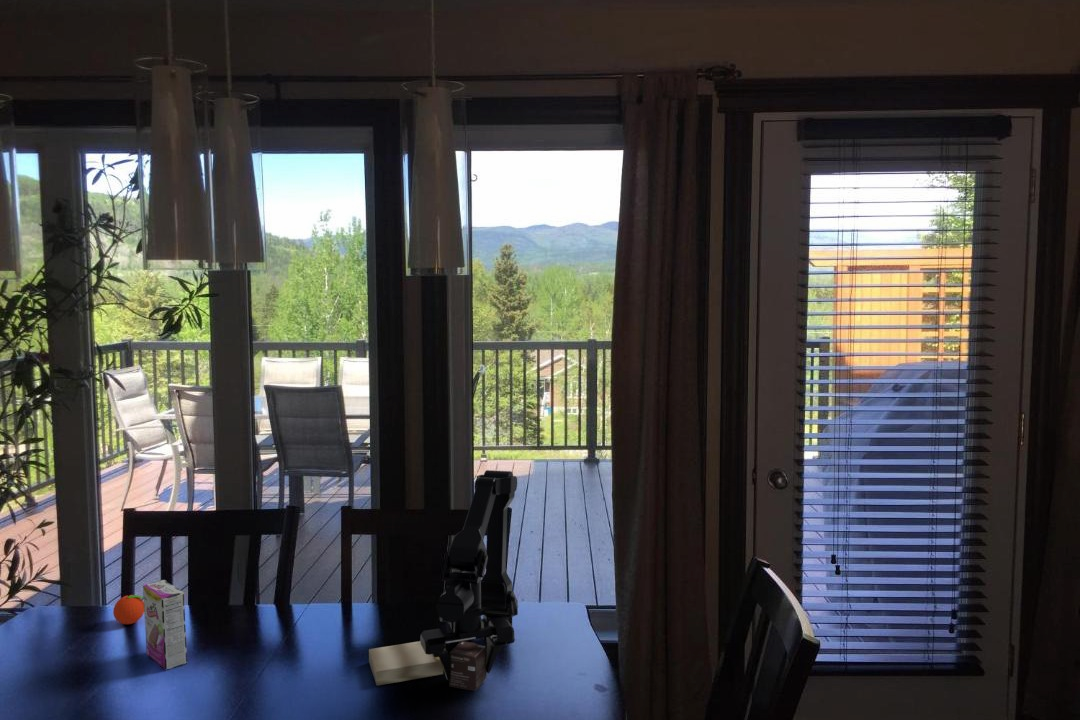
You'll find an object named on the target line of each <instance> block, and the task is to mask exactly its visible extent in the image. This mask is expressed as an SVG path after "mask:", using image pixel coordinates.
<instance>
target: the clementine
mask: <svg viewBox="0 0 1080 720" xmlns="http://www.w3.org/2000/svg"><path fill="white" fill-rule="evenodd" d="M112 612H113V617H114V619H115V621H117V622H118V623H119V624H123V625H132V624H135V623H137V622H138V621H139V620H141V618H142V617H143V616H144V615H145V614H144V597H143V596H142V595H137V594H128V595H124V596H123V597H121V598H119V599H118V601H116V603H115V604H114V606H113V611H112Z"/></svg>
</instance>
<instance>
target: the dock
mask: <svg viewBox="0 0 1080 720" xmlns="http://www.w3.org/2000/svg"><path fill="white" fill-rule="evenodd" d="M368 663H369V666H370V669H371V672H372V673H371V674H372V676H373V678H374V682H375V685H376V686H382V685H388V684H393V683H395V684H396V683H400V682H406V681H412V680H417V679H423V678H428V677H429V678H430V677H434V676H440V675H444V669H443V666H442V663H441V661H440V658H439V657H434V656H433V654H430V655H429V654H426V653H425V651H424V649H423V647H422V645H421V640H419V641H413V642H406V643H401V644H395V645H389V646H388V645H387V646H381V647H375V648H369V649H368Z"/></svg>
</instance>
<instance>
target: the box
mask: <svg viewBox="0 0 1080 720" xmlns="http://www.w3.org/2000/svg"><path fill="white" fill-rule="evenodd" d="M448 654H449V667H450V680H448V681H449V685H448V686H449V687H451V688H456V689H462V690H464V691H465V690H467V691H471V692H476V691H477V690H478V689H479V687H480V686H481V685H482V684H483V683H484V682H485V681H486V679H487V674H488V673H487V668H486V667H487V644H486V645H485V644H478V643H476V642H469V641H460V642H458V644H457V645H455V647H453V648H452V650H451V651H449V652H448Z"/></svg>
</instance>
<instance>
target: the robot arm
mask: <svg viewBox="0 0 1080 720" xmlns="http://www.w3.org/2000/svg"><path fill="white" fill-rule="evenodd" d="M517 487H518V478H517V476H516V475H514V474H513V472H512V471H510V470H493V469H492V470H491V469H490V470H489V469H486V470H485V471H484V473H483V474H479V475H476V479H475V481H474V493H473V496H472V499H471V502H470V504H469V505H470V506H469V509H468V512H467V516H466V518H465V522H464V525H463V528H462V530H460V531H459V532H458V533H456V534H455V535H454V537H453V539H452V541H451V543H450V546H449V547H448V548H447V551H446V555H445V560H444V563H443V569H442V570H443V571H442V575H441V582H442V581H443V582H448V585H447V586H446V587H445V590H444V593H442V594H441V595H440V596H439V597H438V599H437V602H436V605H435V608H436V612H437V614H438V617H439V621H440V622H441V623H445V622H447V623H448V626H449V627H450V629H451V630H453V632H448V633H442V631H441V629H440V628H434V629H433V628H432V629H428V630H423V631H422V632H421V634H420V638H419V639H420V640H419V641H421V645H422V647H423V649H424V651H425V653H426V654H429V655H430V654H433V656H434V657H439V658H440V661H441V663H442V666H443V673H444V674H445V678H446V680H447V681H449V680H450V667H449V652H448V650H447V648H446V644H447V645H448V644H453V643H460V642H461V641H464V642H467V641H471V640H478V639H483V640H484V641H485V643H486V646H487V667H486V668H487V674H490V672H491V670H492V668H493V666H494V663H495V661H496V659H497V657H498V655H499V653H500V652H501V650H502V648H503V647H504V646H507V645H508V644H507V643H513V642H515V641H516V639H515V630H514V629H515V628H514V627H513V618H514V617H515V616H518V615H519V613H518V612H519V602H518V599H517V596H516V595H515V592H514V591H513V582H512V580H511V578H510V576H509V575H508V573H507V569H506V567H507V565H506V563H507V561H506V560H507V538H508V537H507V535H508V534H507V533H508V531H507V530H508V508H509V507H510V506H511V503H512V502H513V500H514V499H515V493H516V491H517V489H518V488H517ZM485 535H486V544H485V541H484V540H485ZM451 570H453V571H451ZM459 571H460V572H459Z"/></svg>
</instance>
